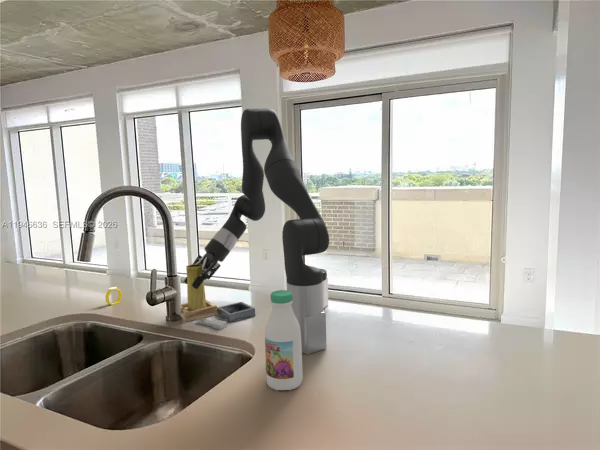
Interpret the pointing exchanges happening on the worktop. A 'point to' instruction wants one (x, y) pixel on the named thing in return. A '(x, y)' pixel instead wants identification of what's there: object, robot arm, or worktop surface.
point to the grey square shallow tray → (225, 312)
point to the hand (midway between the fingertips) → (190, 285)
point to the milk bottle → (283, 344)
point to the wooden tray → (198, 311)
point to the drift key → (212, 323)
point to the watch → (109, 294)
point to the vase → (195, 295)
